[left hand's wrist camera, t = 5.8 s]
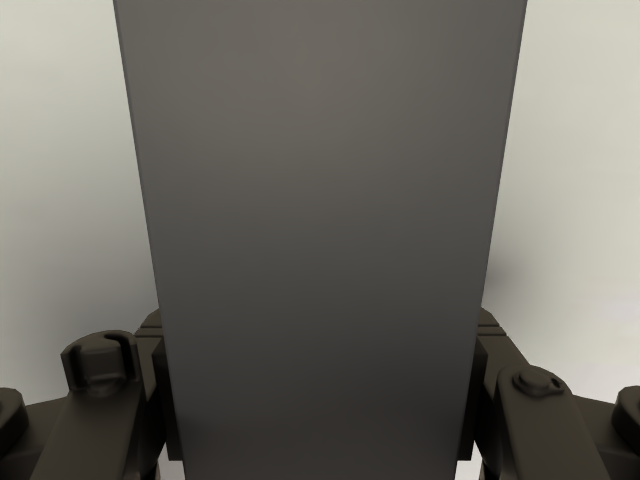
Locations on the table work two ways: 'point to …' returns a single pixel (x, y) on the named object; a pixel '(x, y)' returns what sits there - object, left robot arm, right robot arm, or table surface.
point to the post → (320, 222)
